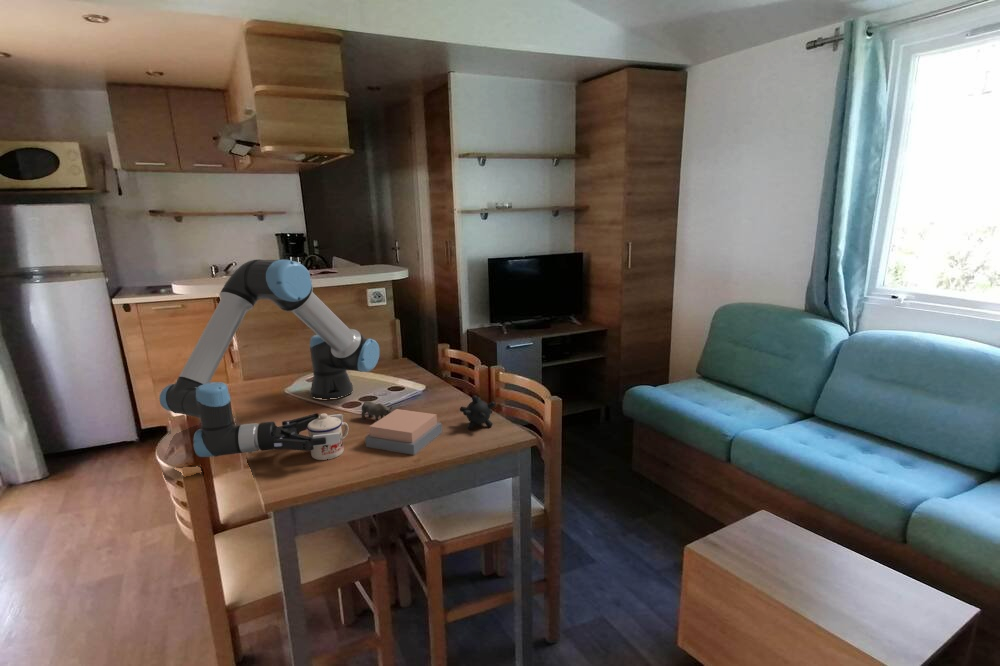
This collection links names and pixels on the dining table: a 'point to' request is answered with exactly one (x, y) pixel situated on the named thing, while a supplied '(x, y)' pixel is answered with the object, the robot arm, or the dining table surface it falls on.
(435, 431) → the brick plinth
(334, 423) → the teacup with lid
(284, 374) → the dining table surface
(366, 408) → the rhino figurine
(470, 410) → the toy ball
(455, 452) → the dining table surface
